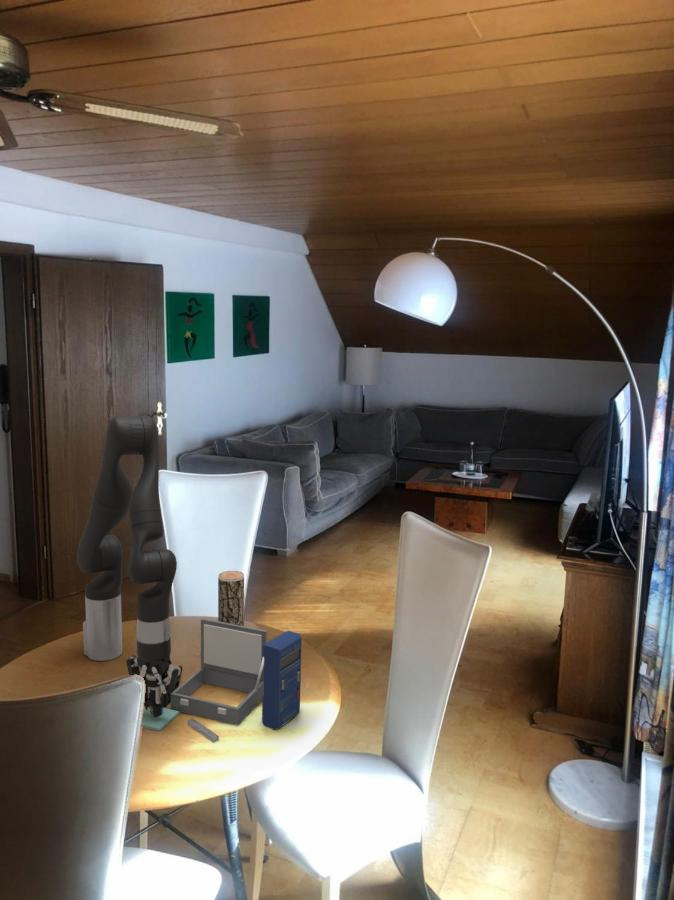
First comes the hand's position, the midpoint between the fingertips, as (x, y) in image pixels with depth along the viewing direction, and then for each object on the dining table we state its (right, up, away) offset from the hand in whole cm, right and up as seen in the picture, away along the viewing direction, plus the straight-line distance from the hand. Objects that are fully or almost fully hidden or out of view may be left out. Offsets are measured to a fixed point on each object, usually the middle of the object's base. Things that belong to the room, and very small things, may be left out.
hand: (154, 703), depth 174 cm
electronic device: (+29, -5, +2) cm, 30 cm away
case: (+14, -3, +9) cm, 16 cm away
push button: (-1, -2, +1) cm, 2 cm away
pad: (0, -4, +1) cm, 4 cm away
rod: (+12, -5, -4) cm, 14 cm away
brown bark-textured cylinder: (+14, +1, +29) cm, 32 cm away
